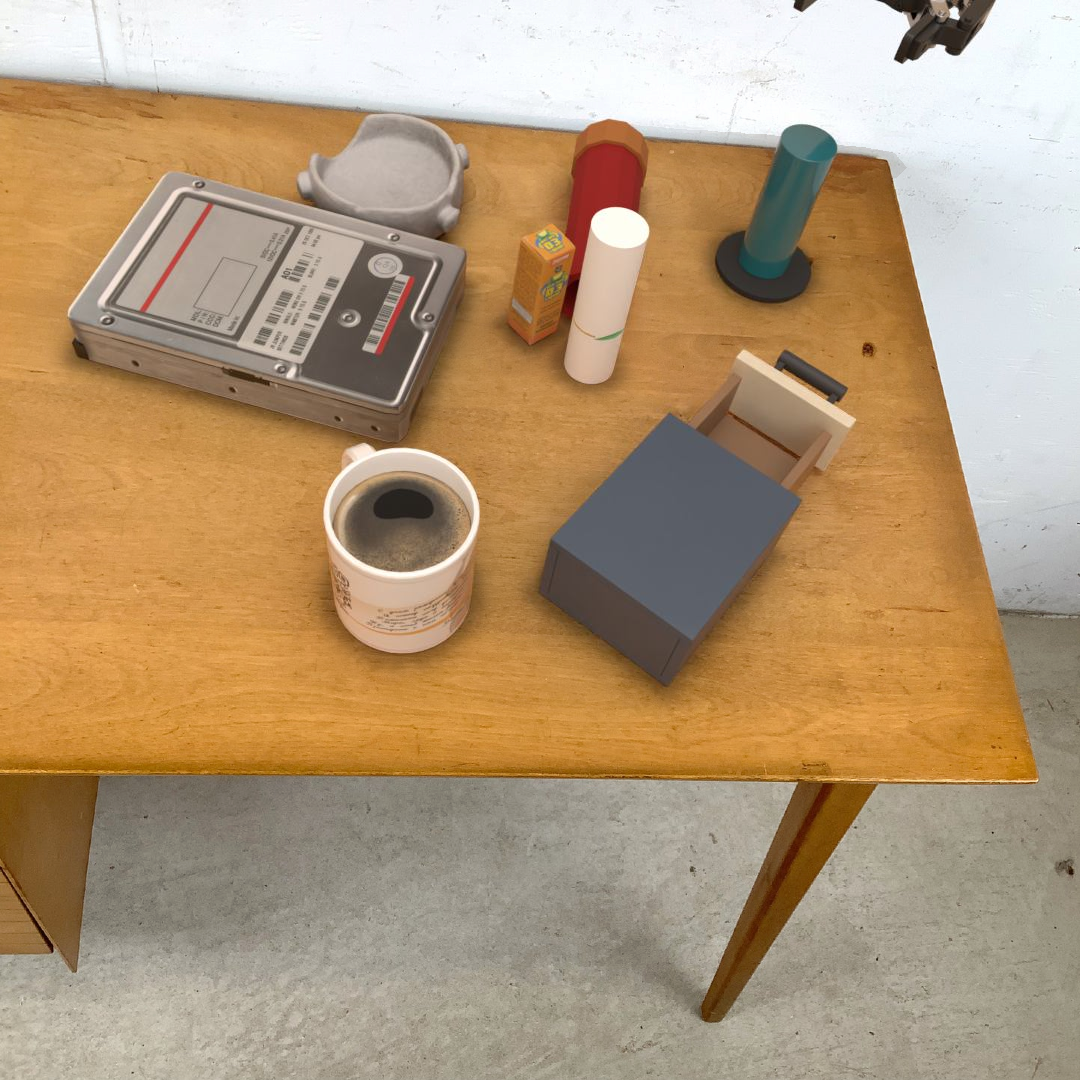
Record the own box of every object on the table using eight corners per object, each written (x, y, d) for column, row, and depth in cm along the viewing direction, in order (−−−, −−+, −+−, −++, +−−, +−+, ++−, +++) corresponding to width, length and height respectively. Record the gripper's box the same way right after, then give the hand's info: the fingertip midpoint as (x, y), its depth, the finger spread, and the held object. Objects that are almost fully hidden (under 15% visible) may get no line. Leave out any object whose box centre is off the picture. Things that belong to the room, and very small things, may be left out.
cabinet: (648, 471, 81) (669, 411, 75) (770, 553, 78) (803, 499, 72) (537, 592, 74) (550, 538, 68) (667, 687, 71) (692, 640, 65)
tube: (558, 376, 85) (585, 239, 72) (569, 340, 87) (597, 201, 75) (608, 389, 85) (643, 254, 72) (617, 353, 87) (654, 215, 75)
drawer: (749, 367, 87) (770, 319, 82) (854, 432, 84) (881, 387, 79) (633, 494, 79) (648, 450, 74) (745, 571, 76) (768, 531, 71)
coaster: (825, 267, 96) (828, 262, 95) (778, 318, 92) (780, 313, 91) (746, 220, 98) (748, 215, 98) (697, 268, 94) (698, 263, 93)
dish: (287, 230, 91) (281, 185, 86) (348, 139, 98) (345, 93, 94) (440, 277, 90) (442, 233, 85) (490, 181, 97) (493, 136, 93)
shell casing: (640, 184, 99) (654, 121, 93) (624, 331, 89) (640, 271, 83) (571, 172, 99) (581, 109, 93) (547, 318, 88) (557, 257, 83)
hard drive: (177, 209, 90) (167, 168, 87) (467, 287, 89) (470, 249, 86) (77, 356, 81) (61, 317, 77) (401, 446, 80) (401, 410, 76)
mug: (308, 640, 70) (293, 559, 61) (349, 499, 77) (341, 406, 67) (458, 665, 70) (465, 589, 61) (486, 523, 77) (496, 434, 67)
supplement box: (531, 349, 86) (544, 261, 78) (506, 324, 88) (516, 234, 79) (560, 332, 88) (577, 244, 79) (535, 308, 89) (549, 218, 80)
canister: (797, 260, 95) (848, 143, 84) (771, 287, 93) (820, 169, 82) (754, 235, 96) (799, 115, 85) (727, 260, 94) (770, 141, 83)
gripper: (885, -145, 79) (783, -72, 71) (1051, -69, 76) (963, 17, 68) (850, -47, 86) (753, 29, 78) (1002, 27, 82) (915, 115, 74)
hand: (851, 23), depth 73 cm, fingers open, 8 cm apart
